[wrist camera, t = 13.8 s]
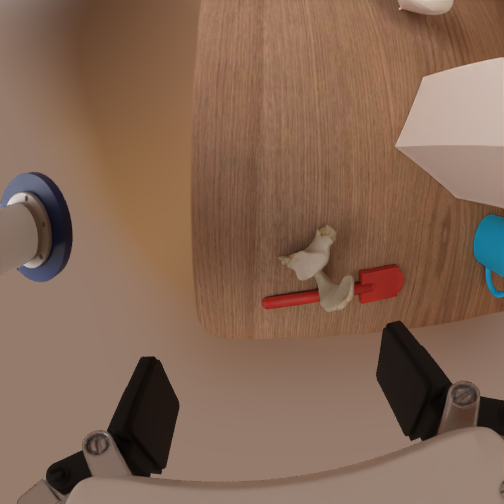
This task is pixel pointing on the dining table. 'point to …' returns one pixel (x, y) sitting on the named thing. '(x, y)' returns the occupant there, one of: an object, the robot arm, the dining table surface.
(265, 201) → the dining table surface
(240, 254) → the dining table surface
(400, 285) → the red toy shovel
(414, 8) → the spinning top
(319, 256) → the bone
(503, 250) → the mug
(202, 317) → the dining table surface
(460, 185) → the milk
